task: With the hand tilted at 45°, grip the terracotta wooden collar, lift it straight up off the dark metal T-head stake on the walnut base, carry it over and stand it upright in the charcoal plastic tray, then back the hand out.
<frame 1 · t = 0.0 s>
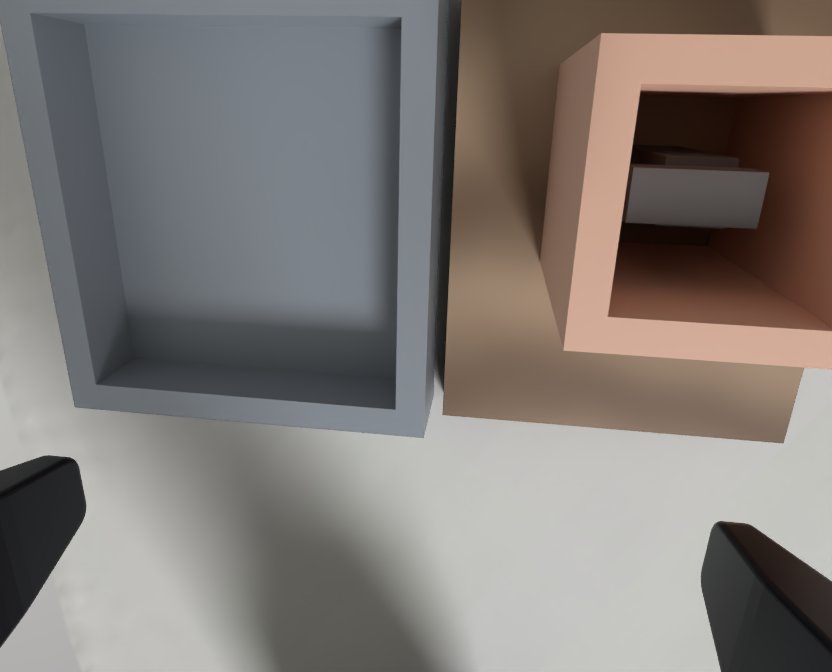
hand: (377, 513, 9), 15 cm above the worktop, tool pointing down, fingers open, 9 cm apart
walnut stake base: (628, 228, 21), on the worktop
charcoal tray: (264, 210, 22), on the worktop
terracotta collar: (647, 172, 19), point 1 cm above the worktop, touching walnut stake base
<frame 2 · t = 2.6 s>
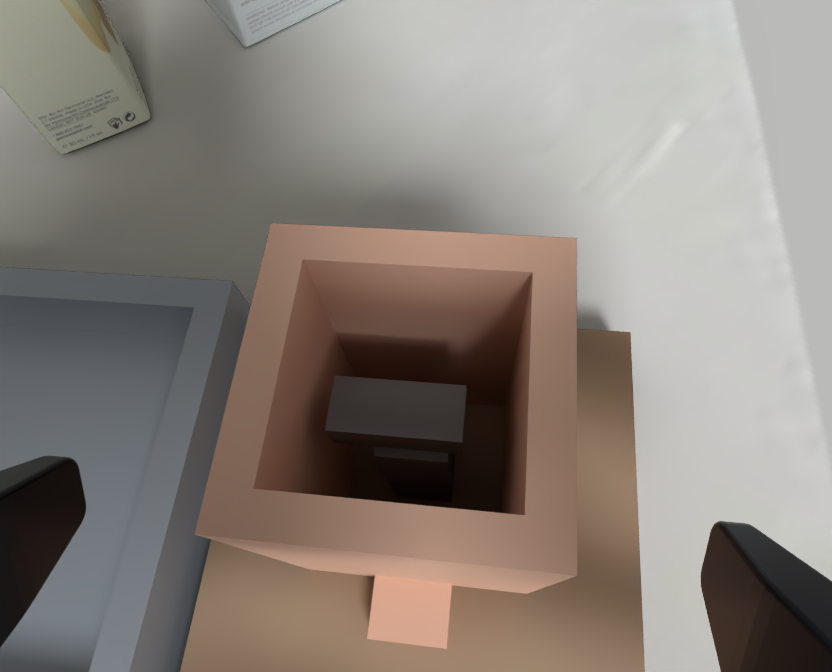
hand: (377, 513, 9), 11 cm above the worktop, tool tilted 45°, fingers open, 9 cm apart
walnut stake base: (422, 548, 18), on the worktop
skincare box: (94, 97, 28), on the worktop
charcoal tray: (27, 506, 20), on the worktop
terracotta collar: (426, 472, 18), point 1 cm above the worktop, touching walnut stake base
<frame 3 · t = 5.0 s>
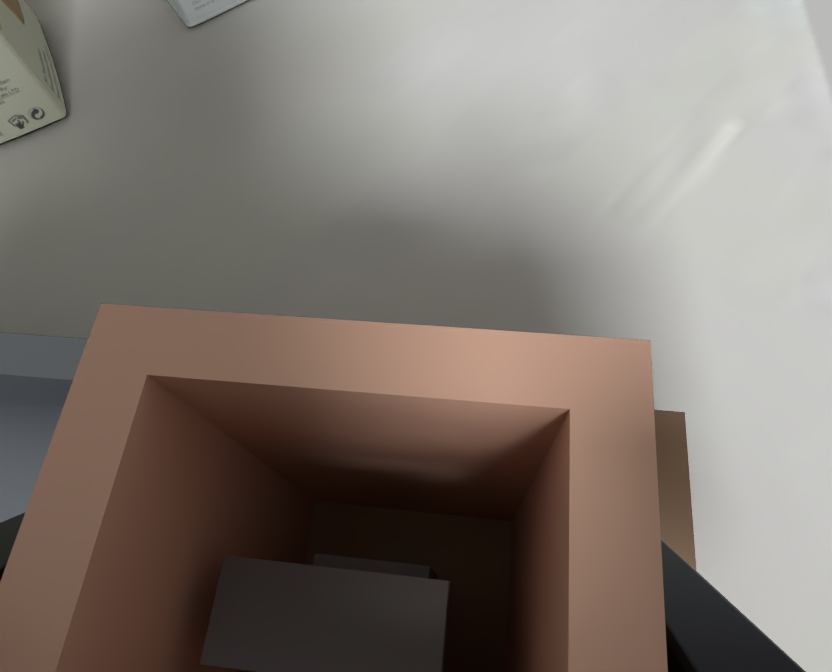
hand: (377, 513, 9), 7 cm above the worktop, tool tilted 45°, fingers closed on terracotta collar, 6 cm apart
skincare box: (2, 90, 23), on the worktop
terracotta collar: (399, 619, 13), point 2 cm above the worktop, touching gripper, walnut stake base
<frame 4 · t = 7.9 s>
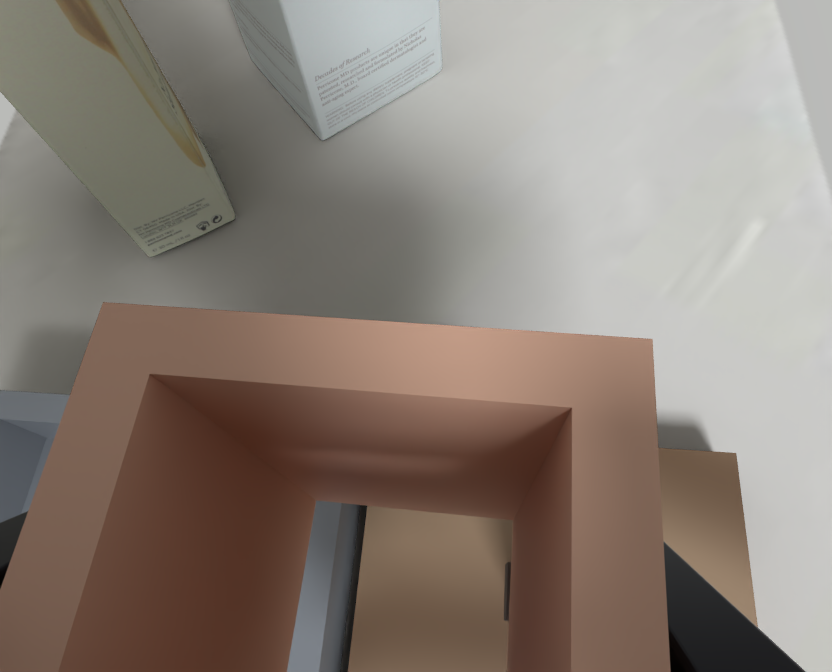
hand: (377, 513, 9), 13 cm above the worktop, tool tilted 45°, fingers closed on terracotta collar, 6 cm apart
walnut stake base: (544, 670, 19), on the worktop
supplement box: (345, 68, 31), on the worktop
skincare box: (175, 193, 28), on the worktop
charcoal tray: (154, 628, 21), on the worktop
terracotta collar: (401, 619, 13), point 8 cm above the worktop, touching gripper
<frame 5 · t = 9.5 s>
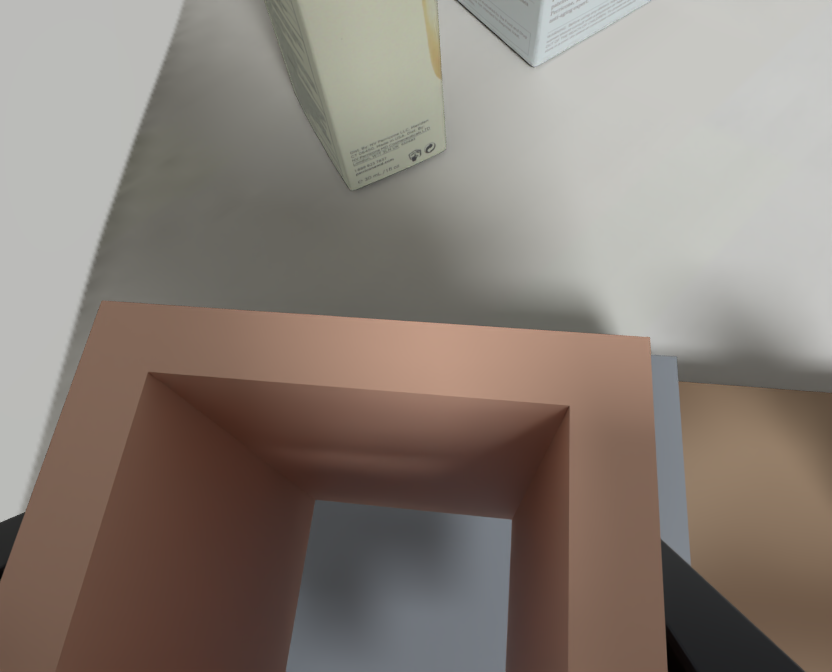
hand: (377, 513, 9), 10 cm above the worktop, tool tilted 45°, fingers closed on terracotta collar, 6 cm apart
skincare box: (367, 123, 25), on the worktop
charcoal tray: (416, 612, 17), on the worktop
terracotta collar: (400, 618, 13), point 5 cm above the worktop, touching gripper
when the fingers open (8 cm above the worktop, at t = 10.9 s): terracotta collar drops 2 cm, resting on charcoal tray.
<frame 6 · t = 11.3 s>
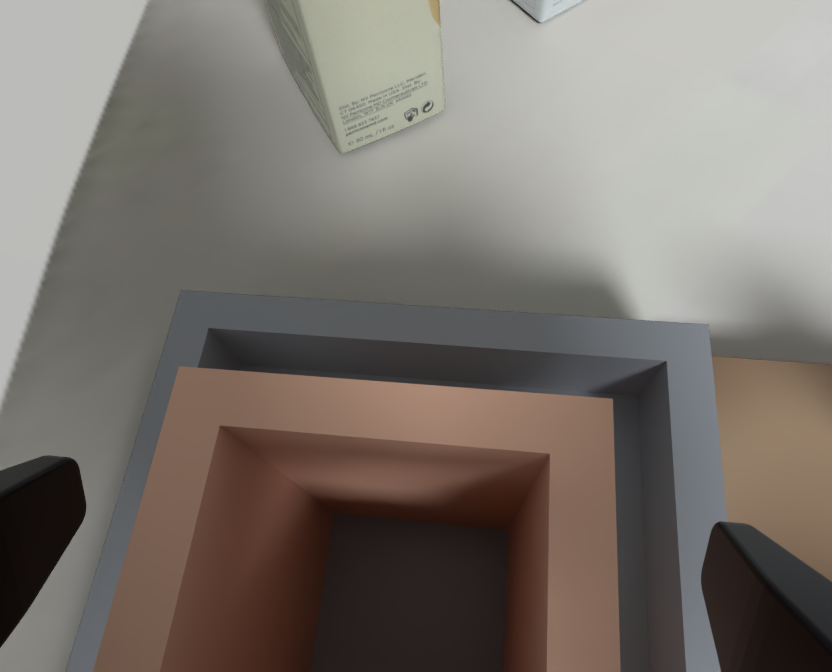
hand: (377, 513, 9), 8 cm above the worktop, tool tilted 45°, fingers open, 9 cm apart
skincare box: (360, 84, 23), on the worktop
charcoal tray: (410, 617, 15), on the worktop
terracotta collar: (410, 617, 14), point 1 cm above the worktop, touching charcoal tray
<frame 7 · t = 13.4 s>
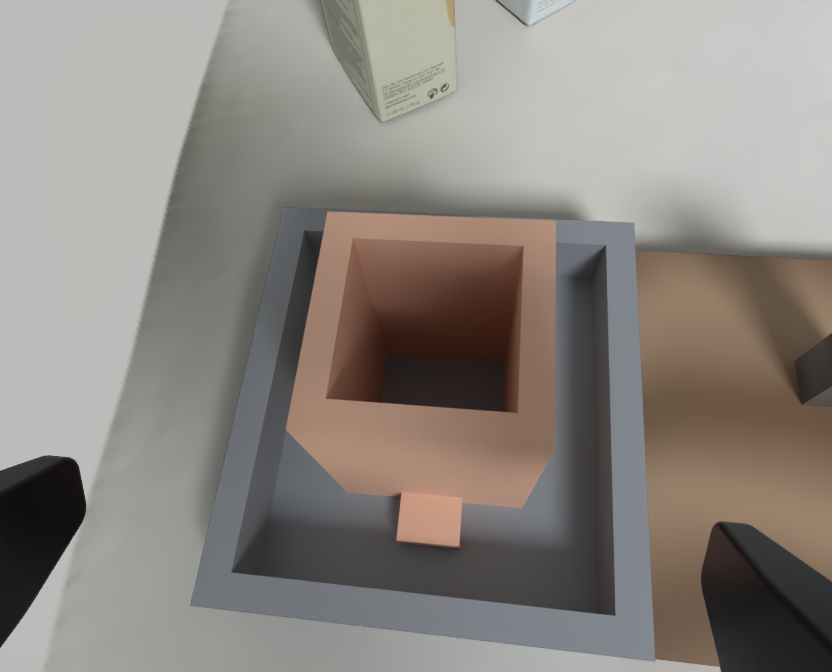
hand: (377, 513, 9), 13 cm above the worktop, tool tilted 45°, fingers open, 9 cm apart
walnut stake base: (809, 452, 21), on the worktop
skincare box: (392, 72, 31), on the worktop
charcoal tray: (439, 422, 23), on the worktop
terracotta collar: (440, 415, 22), point 1 cm above the worktop, touching charcoal tray
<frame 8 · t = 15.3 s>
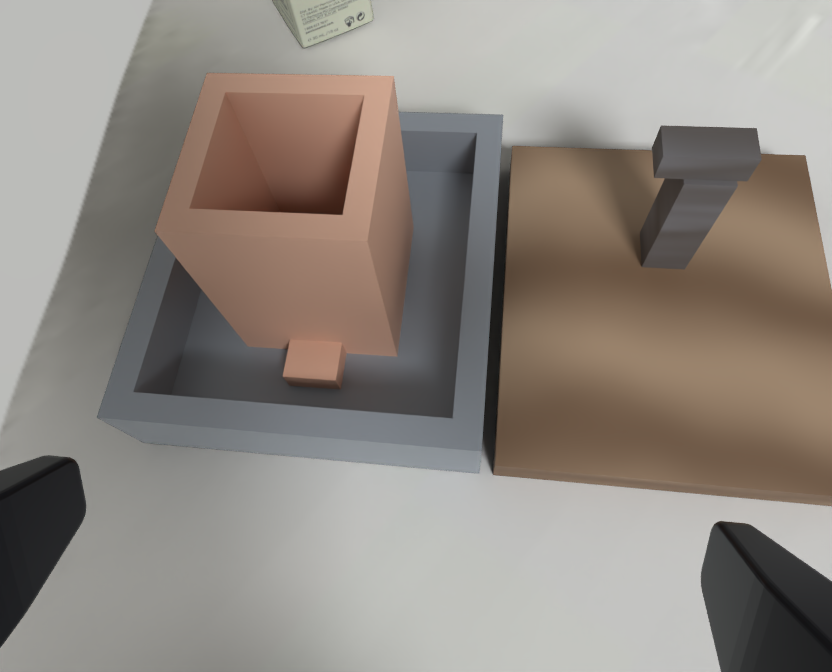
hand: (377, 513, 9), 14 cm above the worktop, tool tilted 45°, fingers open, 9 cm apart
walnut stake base: (653, 313, 24), on the worktop
skincare box: (318, 6, 34), on the worktop
charcoal tray: (336, 294, 26), on the worktop
terracotta collar: (333, 284, 25), point 1 cm above the worktop, touching charcoal tray
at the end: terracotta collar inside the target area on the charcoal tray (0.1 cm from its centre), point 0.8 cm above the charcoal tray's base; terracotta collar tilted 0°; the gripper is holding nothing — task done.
